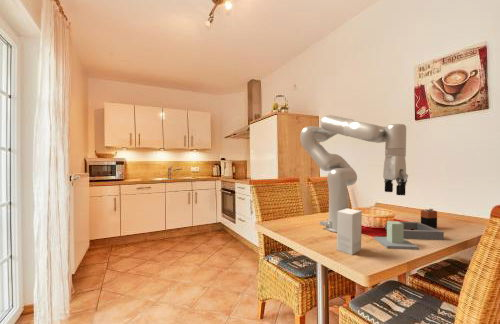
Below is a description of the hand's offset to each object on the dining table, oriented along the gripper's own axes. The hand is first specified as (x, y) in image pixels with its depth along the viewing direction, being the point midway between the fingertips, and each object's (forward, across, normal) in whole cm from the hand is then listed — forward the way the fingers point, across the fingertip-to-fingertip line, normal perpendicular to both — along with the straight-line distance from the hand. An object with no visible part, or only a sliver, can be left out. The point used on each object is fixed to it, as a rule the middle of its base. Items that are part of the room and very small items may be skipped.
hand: (394, 193), depth 100 cm
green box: (+20, 0, 0) cm, 20 cm away
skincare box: (+22, +10, -22) cm, 32 cm away
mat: (+21, 0, 0) cm, 21 cm away
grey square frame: (+21, -16, +16) cm, 32 cm away
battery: (+22, -28, +32) cm, 48 cm away
